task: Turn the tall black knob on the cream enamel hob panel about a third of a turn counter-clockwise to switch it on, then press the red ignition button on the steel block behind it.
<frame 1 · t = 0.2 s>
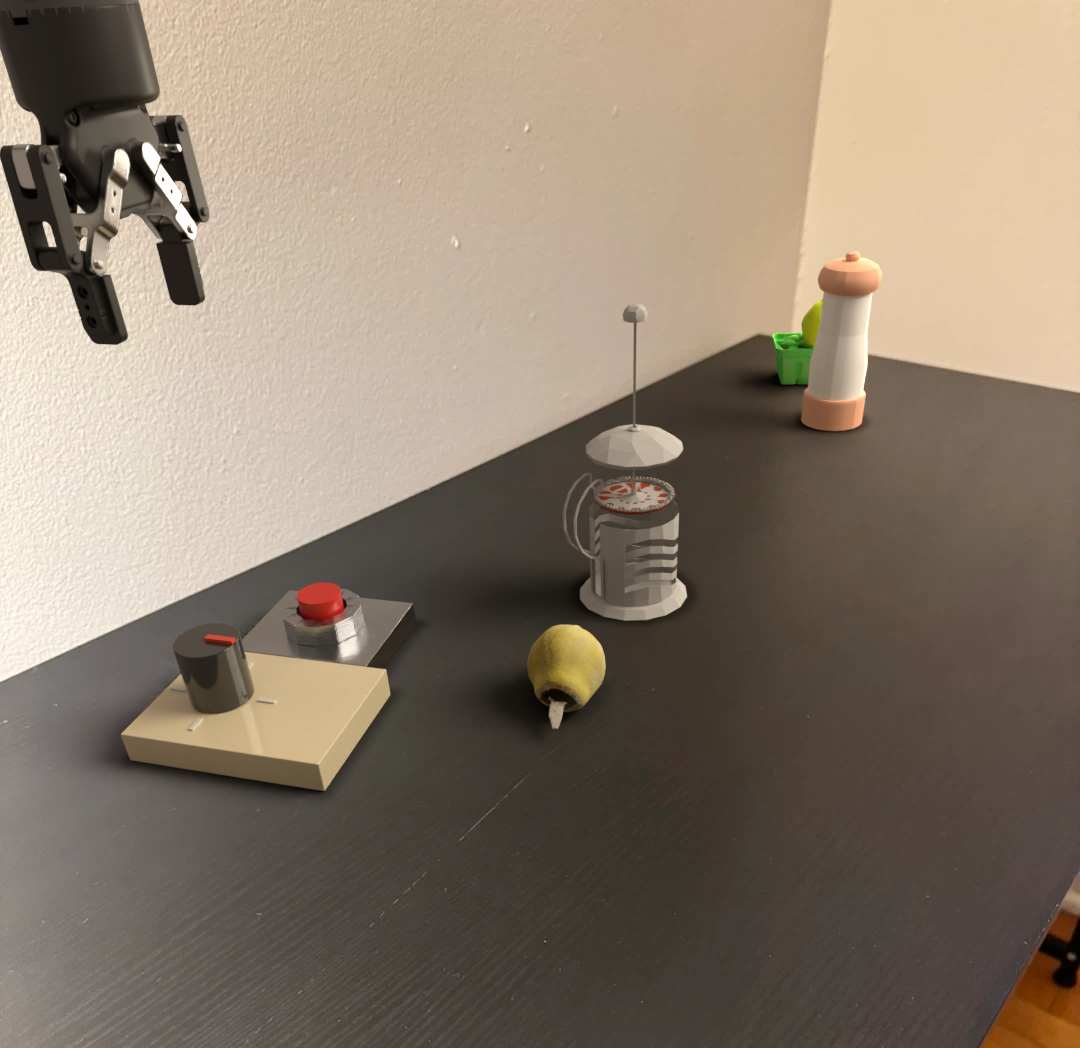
hand: (151, 322, 61), 29 cm above the table, tool pointing down, fingers open, 8 cm apart
ignite button: (320, 602, 82), point 4 cm above the table, slide at 0.1 cm
hob panel: (265, 726, 75), on the table
french press: (624, 597, 89), on the table
fruit: (567, 704, 76), on the table
fruit basket: (813, 381, 133), on the table
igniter: (330, 647, 84), on the table
salt shaker: (830, 422, 121), on the table
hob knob: (214, 666, 73), point 5 cm above the table, hinge at 0.0°
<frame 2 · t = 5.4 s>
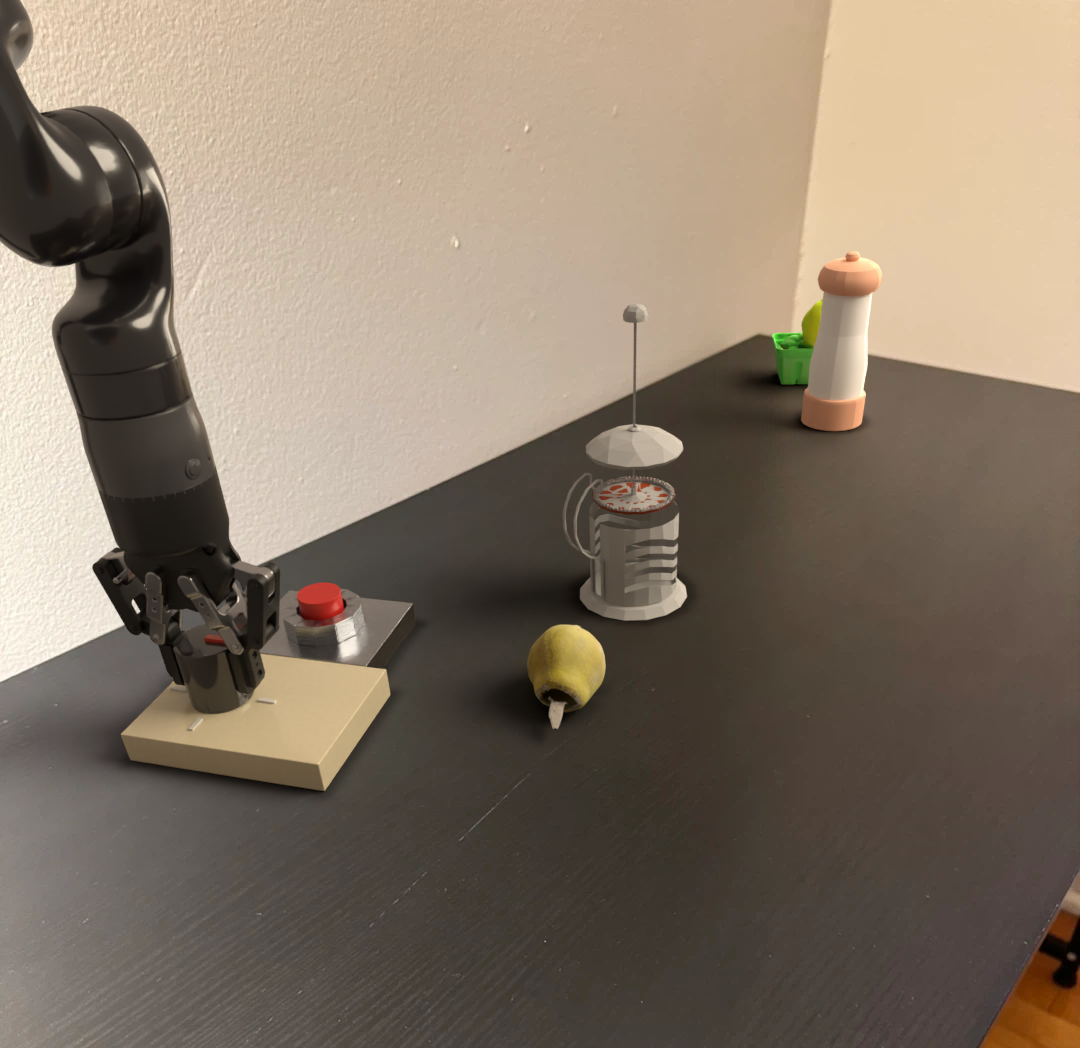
hand: (218, 682, 74), 4 cm above the table, tool pointing down, fingers closed on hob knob, 5 cm apart
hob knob: (214, 666, 73), point 5 cm above the table, hinge at 0.0°, touching gripper
everything else where it was.
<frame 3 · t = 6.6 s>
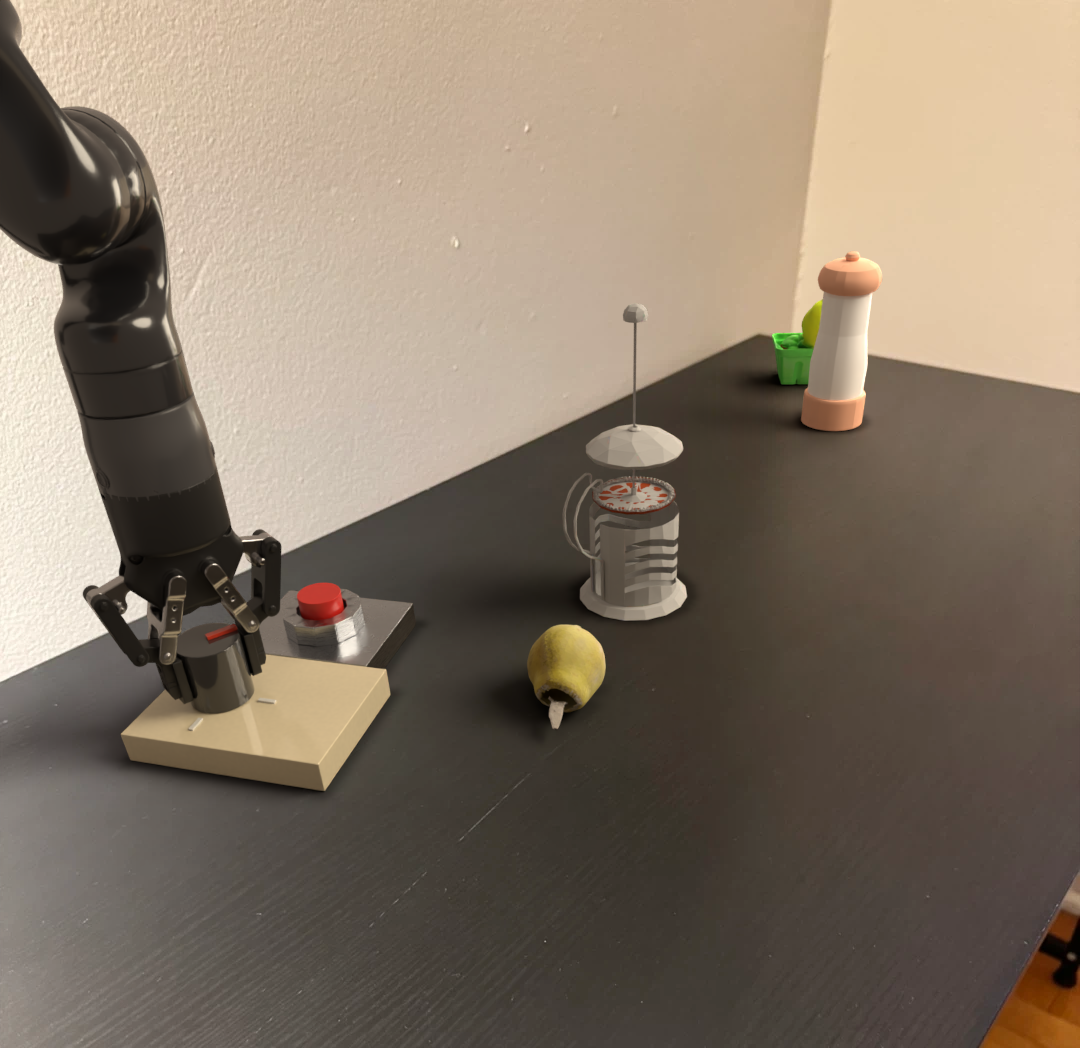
hand: (218, 683, 74), 4 cm above the table, tool pointing down, fingers closed on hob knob, 5 cm apart
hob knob: (214, 666, 73), point 5 cm above the table, hinge at 53.1°, touching gripper
everything else where it was.
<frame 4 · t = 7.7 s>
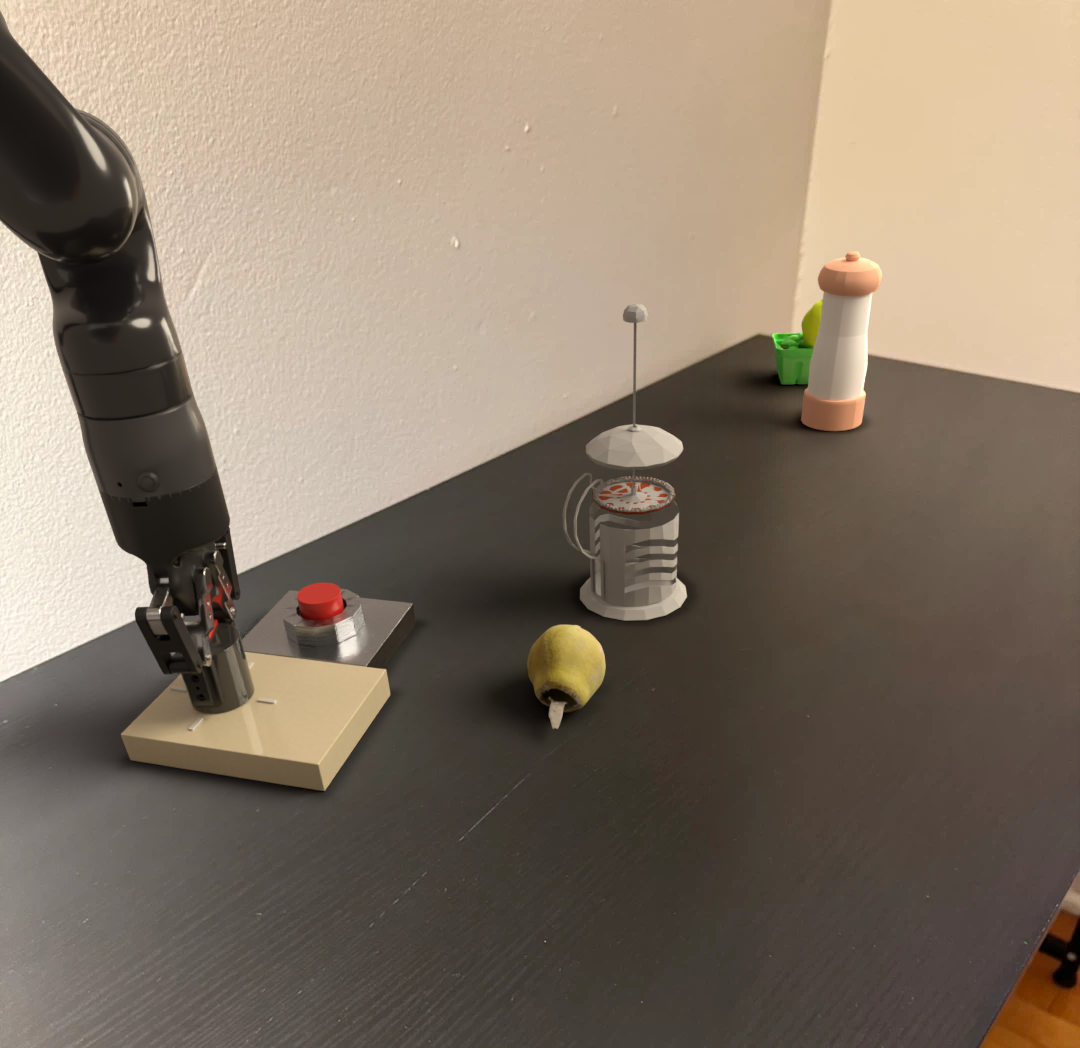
hand: (219, 683, 74), 4 cm above the table, tool pointing down, fingers closed on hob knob, 5 cm apart
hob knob: (214, 666, 73), point 5 cm above the table, hinge at 106.2°, touching gripper
everything else where it was.
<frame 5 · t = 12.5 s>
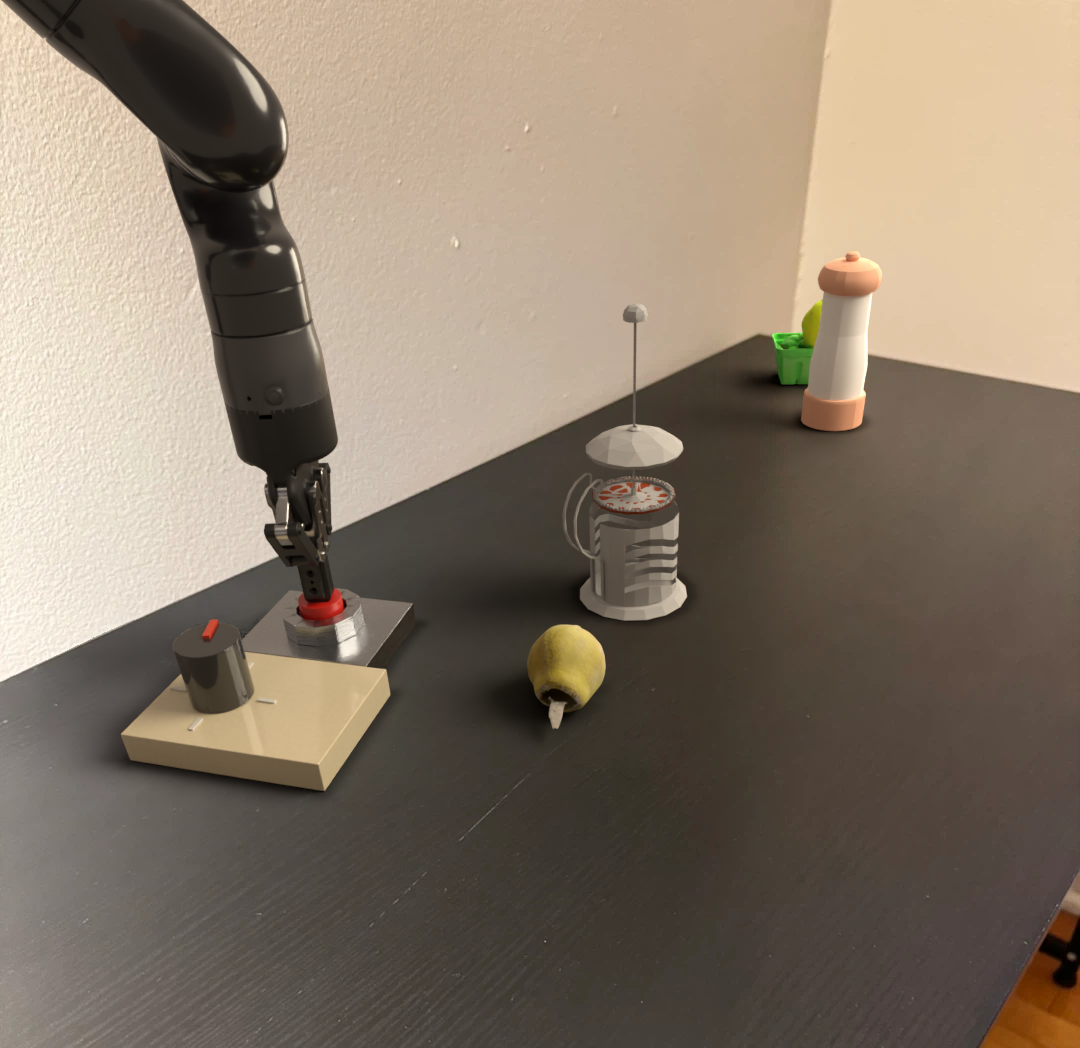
hand: (320, 597, 81), 5 cm above the table, tool pointing down, fingers closed
ignite button: (321, 606, 82), point 4 cm above the table, slide at -0.3 cm, touching gripper
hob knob: (214, 666, 73), point 5 cm above the table, hinge at 105.2°
everything else where it was.
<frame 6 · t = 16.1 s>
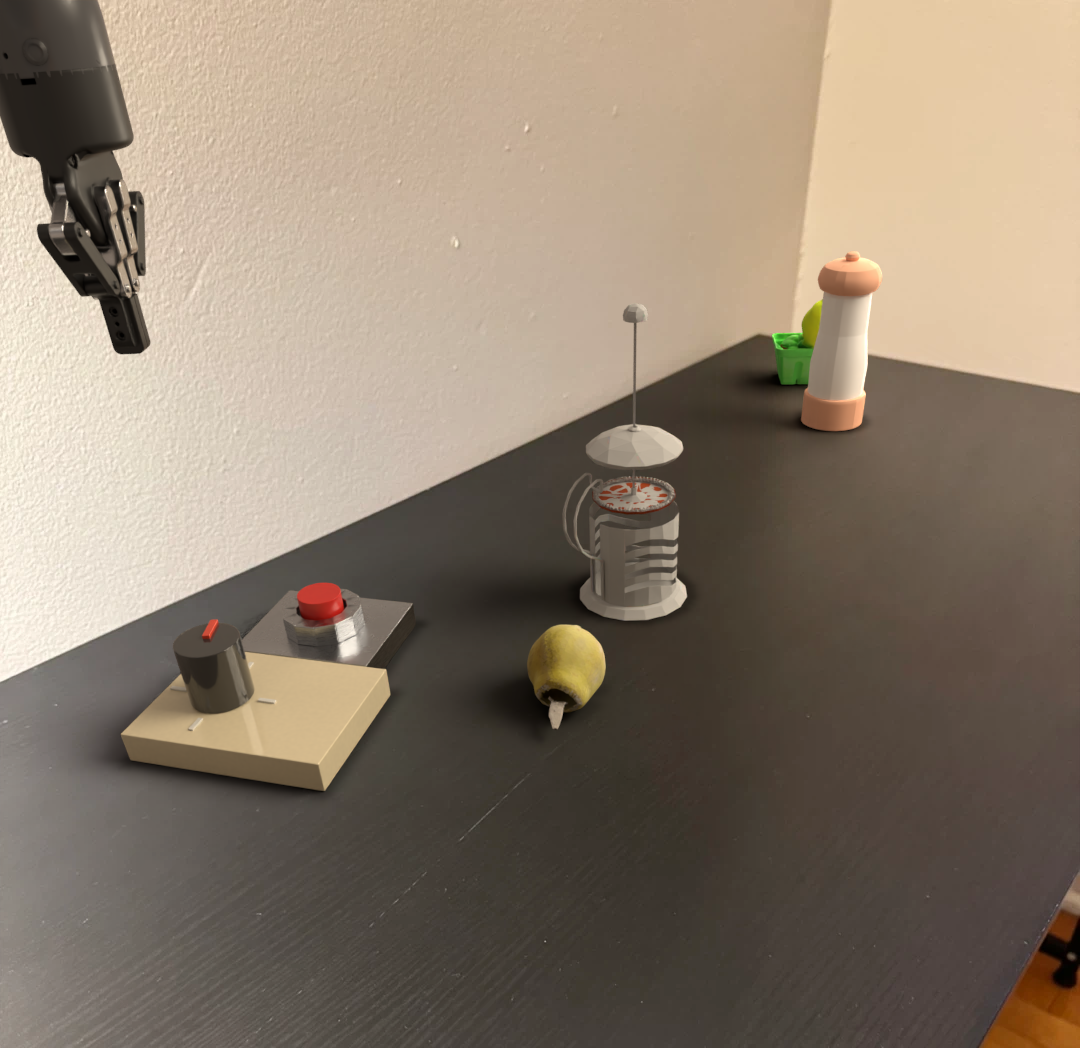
hand: (133, 350, 71), 25 cm above the table, tool pointing down, fingers closed
ignite button: (320, 602, 82), point 4 cm above the table, slide at 0.1 cm
everything else where it was.
at the end: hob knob at +105° (first picture: +0°); ignite button pushed in 1.1 cm at the most during the clip, back to where it started at the end; ignite button slide at 0.1 cm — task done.
